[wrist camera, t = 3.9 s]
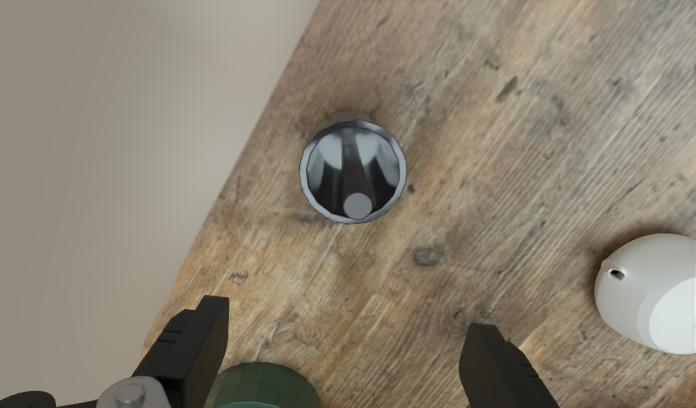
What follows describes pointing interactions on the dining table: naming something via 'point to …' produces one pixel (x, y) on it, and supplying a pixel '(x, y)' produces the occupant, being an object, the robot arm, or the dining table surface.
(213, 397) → the mixing bowl
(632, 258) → the teapot
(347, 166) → the stick
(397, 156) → the crock
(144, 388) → the robot arm
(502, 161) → the dining table surface
